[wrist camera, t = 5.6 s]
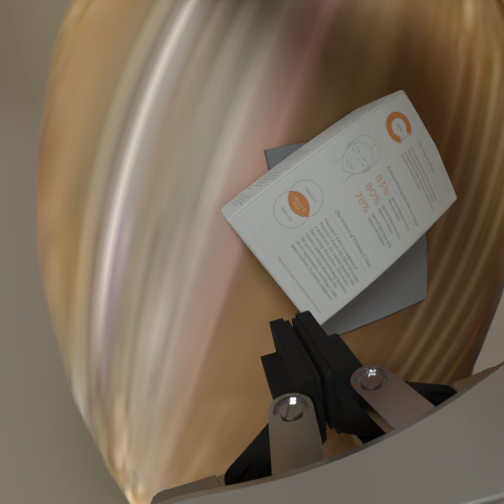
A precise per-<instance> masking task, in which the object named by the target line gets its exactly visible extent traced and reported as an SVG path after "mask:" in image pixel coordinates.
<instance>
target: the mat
mask: <svg viewBox="0 0 504 504" xmlns="http://www.w3.org/2000/svg"><path fill="white" fill-rule="evenodd" d="M306 143H308V142H304V143H298V144H293V145H288V146H283V147H278V148H273V149H268V150H264V152H265V157H266V161H267V165H268V169H269V170H271V169H272V168H273V167H275V166H276V165H278V164H279V163H280V162H282V161H283V160H284V159H286V158H287V157H288V156H290V155H291V154H292V153H294V152H295V151H296V150H298V149H299V148H301V147H302V146H303V145H305V144H306ZM426 298H427V242H426V232H425V233H424V234H423V235H422V236H421V237H420V238H419V239H418V240H417V241H416V242H415V243H414V244H413V245H412V246H411V247H410V248H409V249H408V250H407V251H406V252H405V253H404V254H402V255H401V256H400V257H399V258H398V259H397V260H396V261H395V262H394V263H393V264H392V265H391V266H390V267H389V268H388V269H387V270H385V271H384V272H383V273H382V274H381V275H380V276H379V277H378V278H377V279H376V280H374V281H373V282H372V283H371V284H370V285H369V286H368V287H366V288H365V289H364V290H363V291H362V292H361V293H359V294H358V295H357V296H356V297H355V298H354V299H352V300H351V301H350V302H349V303H348V304H346V305H345V306H344V307H343V308H342V309H340V310H339V311H338V312H337V313H335V314H334V315H333V316H332V317H330V318H329V319H328V320H327V321H325V322H324V323H323V324H322V325H320V326H321V327H322V328H323V330H324V331H325V332H326V334H327V335H331V334H334V333H337V334H338V335H340V334H343V333H345V332H348V331H350V330H353V329H356V328H358V327H361V326H363V325H366V324H368V323H371V322H373V321H376V320H378V319H381V318H383V317H385V316H388V315H390V314H392V313H395V312H397V311H399V310H402V309H404V308H406V307H408V306H411V305H413V304H415V303H417V302H419V301H421V300H424V299H426ZM299 313H301V312H300V311H299Z"/></svg>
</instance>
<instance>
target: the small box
mask: <svg viewBox="0 0 504 504" xmlns="http://www.w3.org/2000/svg"><path fill="white" fill-rule="evenodd" d="M456 199H457V197H456V194H455V192H454V189H453V186H452V184H451V181H450V179H449V176H448V174H447V172H446V169H445V167H444V165H443V162H442V159H441V157H440V154H439V152H438V149H437V147H436V145H435V143H434V142H433V140H432V138H431V136H430V135H429V133H428V131H427V129H426V128H425V126H424V124H423V122H422V120H421V119H420V117H419V115H418V113H417V112H416V110H415V108H414V107H413V105H412V103H411V102H410V100H409V99H408V97H407V95H406V94H405V92H404V91H403V90H399V91H397V92H394V93H392V94H390V95H387V96H385V97H382V98H380V99H378V100H375V101H373V102H371V103H369V104H366V105H364V106H362V107H359V108H357V109H355V110H354V111H352V112H351V113H349V114H348V115H346V116H345V117H343V118H342V119H340V120H339V121H337V122H336V123H335V124H333V125H332V126H330V127H329V128H327V129H326V130H324V131H323V132H322V133H320V134H319V135H317V136H316V137H315V138H313V139H312V140H310V141H309V142H308V143H306V144H305V145H303V146H302V147H301V148H299V149H298V150H296V151H295V152H294V153H292V154H291V155H290V156H288V157H287V158H286V159H284V160H283V161H282V162H280V163H279V164H278V165H276V166H275V167H273V168H272V169H271V170H269V171H268V172H267V173H265V174H264V175H263V176H262V177H260V178H259V179H258V180H256V181H255V182H254V183H253V184H251V185H250V186H249V187H247V188H246V189H245V190H244V191H242V192H241V193H240V194H238V195H237V196H236V197H235V198H233V199H232V200H231V201H230V202H228V203H227V204H226V205H225V206H224V207H223V208H222V209H221V212H222V213H223V215H224V218H225V220H226V221H227V222H228V224H229V225H230V226H231V227H232V228H233V230H234V231H235V232H236V233H237V235H238V236H239V237H240V238H241V239H242V241H243V242H244V243H245V244H246V246H247V247H248V248H249V249H250V251H251V252H252V253H253V254H254V255H255V257H256V258H257V259H258V260H259V262H260V263H261V264H262V265H263V267H264V268H265V269H266V270H267V272H268V273H269V274H270V275H271V276H272V278H273V279H274V280H275V281H276V283H277V284H278V285H279V286H280V288H281V289H282V290H283V291H284V292H285V294H286V295H287V296H288V297H289V299H290V300H291V301H292V302H293V304H294V305H295V306H296V307H297V309H298V310H299V311H300V312H304V311H307V310H309V311H310V312H311V314H312V315H313V316H314V318H315V319H316V320H317V322H318V323H319V324H320V325H322V324H323V323H324V322H325V321H327V320H328V319H329V318H330V317H332V316H333V315H334V314H335V313H337V312H338V311H339V310H340V309H342V308H343V307H344V306H345V305H346V304H348V303H349V302H350V301H351V300H352V299H354V298H355V297H356V296H357V295H358V294H359V293H361V292H362V291H363V290H364V289H365V288H366V287H368V286H369V285H370V284H371V283H372V282H373V281H374V280H376V279H377V278H378V277H379V276H380V275H381V274H382V273H383V272H384V271H385V270H387V269H388V268H389V267H390V266H391V265H392V264H393V263H394V262H395V261H396V260H397V259H398V258H399V257H400V256H401V255H402V254H404V253H405V252H406V251H407V250H408V249H409V248H410V247H411V246H412V245H413V244H414V243H415V242H416V241H417V240H418V239H419V238H420V237H421V236H422V235H423V234H424V233H425V232H426V231H427V230H428V229H429V228H430V227H431V226H432V225H433V224H434V223H435V222H436V221H437V220H438V219H439V218H440V217H441V215H442V214H443V213H444V212H445V211H446V210H447V209H448V208H449V207H450V206H451V205H452V204H453V203H454V202H455V200H456Z"/></svg>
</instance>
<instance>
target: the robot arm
mask: <svg viewBox="0 0 504 504" xmlns="http://www.w3.org/2000/svg"><path fill="white" fill-rule="evenodd" d="M269 323H270V328H271V332H272V336H273V340H274V345H275V349H276V352H275V353H272V354H268V355H265V356H261V361H262V364H263V368H264V371H265V375H266V378H267V382H268V385H269V388H270V391H271V394H272V398H273V402H272V403H271V404H270V406H269V408H268V424H267V425H266V426H265V427H264V429H263V430H262V431H261V432H260V433H259V435H258V436H257V437H256V438H255V439H254V440H253V442H252V443H251V444H250V445H249V446H248V447H247V448H246V450H245V451H244V452H243V453H242V454H241V455H240V456H239V457H238V458H237V459H236V461H235V462H234V463H233V464H232V465H231V466H230V467H229V468H228V470H227V471H226V473H225V474H223V475H220V476H217V477H216V476H215V475H212V476H209V477H206V478H203V479H200V480H197V481H194V482H191V483H188V484H184V485H181V486H177V487H174V488H170V489H166V490H163V491H161V492H159V493H157V494H156V495H155V496H154V497H153V499H152V501H151V504H504V362H502V363H500V364H499V365H497V366H495V367H491V368H488V369H486V370H483V371H481V372H479V373H477V374H474V375H472V376H470V377H467V378H465V379H462V380H460V381H457V382H455V383H453V385H452V387H450V386H446V385H438V384H426V383H416V382H407V381H403V380H401V379H400V378H399V377H398V376H396V375H395V374H394V373H393V372H391V371H390V370H389V369H387V368H386V367H384V366H381V365H366V366H363V365H362V364H361V363H360V362H359V360H358V359H357V358H356V356H355V355H354V354H353V353H352V351H351V350H350V349H349V348H348V346H347V345H346V344H345V343H344V341H343V340H342V339H341V338H340V336H339V335H338V334H337V333H334V334H331V335H327V334H326V332H325V331H324V330H323V328H322V327H321V326H320V324H319V323H318V322H317V320H316V319H315V318H314V316H313V315H312V314H311V312H310V311H309V310H307V311H304V312H301V313H298V314H296V318H293V319H292V324H293V327H292V325H291V324H290V322H289V320H286V321H284V320H283V318H281V319H278V320H274V321H271V322H269ZM326 422H327V424H328V426H329V428H330V429H332V428H334V427H335V429H336V431H337V433H338V434H340V433H342V432H343V433H347V434H351V437H352V439H353V440H354V442H355V443H356V444H357V445H358V447H356V448H353V449H351V450H348V451H346V452H343V453H341V454H338V455H335V456H333V457H330V458H327V459H326V458H325V454H324V449H323V444H324V442H325V441H326V439H327V436H326Z"/></svg>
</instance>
